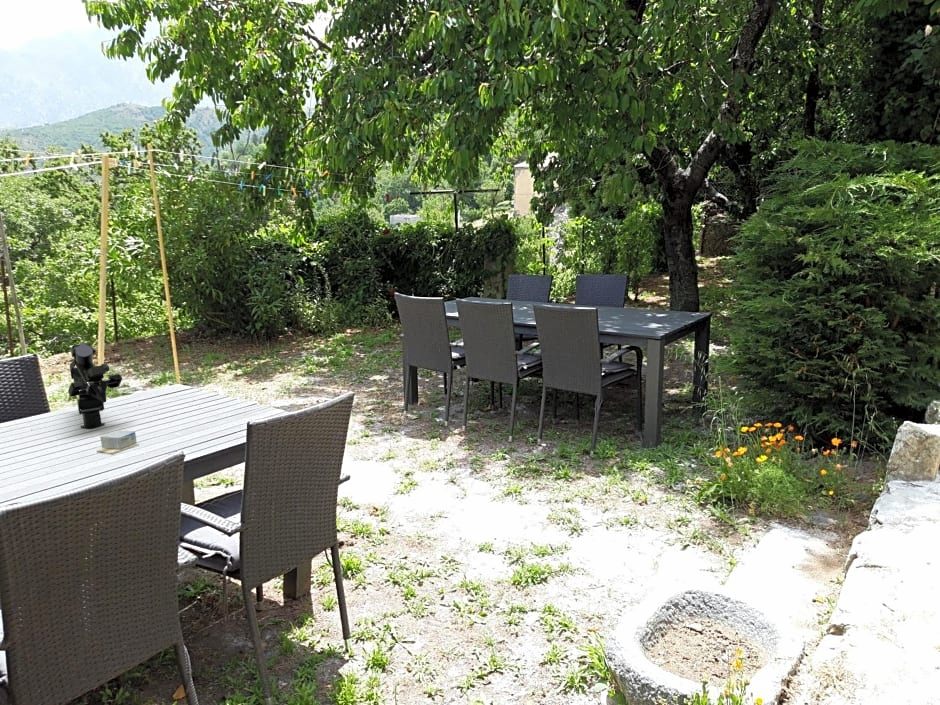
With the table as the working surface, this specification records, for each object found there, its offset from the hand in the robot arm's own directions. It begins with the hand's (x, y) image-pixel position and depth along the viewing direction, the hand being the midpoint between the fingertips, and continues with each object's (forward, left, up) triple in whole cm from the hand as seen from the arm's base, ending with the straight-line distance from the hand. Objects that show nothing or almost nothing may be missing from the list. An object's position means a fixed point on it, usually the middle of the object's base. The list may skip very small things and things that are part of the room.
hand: (105, 401), depth 267 cm
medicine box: (+15, -11, -10) cm, 21 cm away
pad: (+21, -12, -13) cm, 27 cm away
